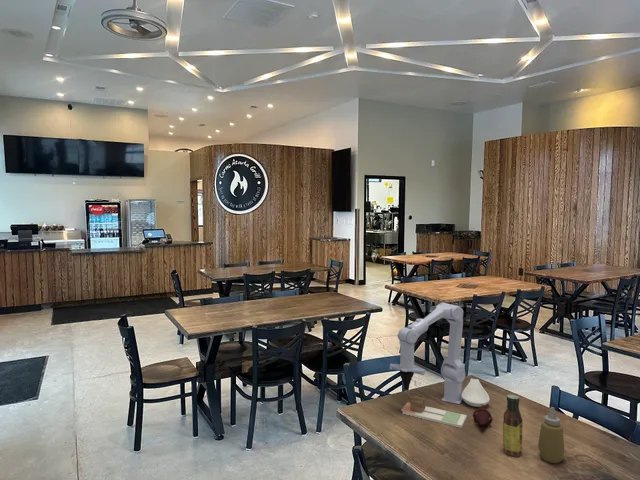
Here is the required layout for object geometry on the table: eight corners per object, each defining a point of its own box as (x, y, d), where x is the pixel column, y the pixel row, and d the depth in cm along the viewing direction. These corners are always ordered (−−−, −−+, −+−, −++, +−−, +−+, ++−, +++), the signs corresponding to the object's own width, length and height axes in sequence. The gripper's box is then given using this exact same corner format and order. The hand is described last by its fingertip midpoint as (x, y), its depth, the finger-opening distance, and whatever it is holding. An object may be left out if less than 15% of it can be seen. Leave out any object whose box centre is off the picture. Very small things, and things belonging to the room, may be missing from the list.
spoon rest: (490, 412, 183) (490, 395, 183) (461, 408, 186) (461, 392, 186) (486, 390, 206) (486, 375, 205) (460, 387, 209) (460, 373, 209)
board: (407, 404, 190) (407, 401, 190) (466, 417, 177) (466, 414, 177) (400, 413, 181) (400, 410, 181) (461, 428, 169) (461, 425, 169)
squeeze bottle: (540, 449, 153) (542, 400, 152) (566, 458, 148) (568, 406, 147) (535, 459, 147) (536, 408, 146) (561, 468, 142) (563, 415, 141)
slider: (413, 405, 186) (414, 396, 185) (425, 407, 183) (425, 398, 183) (410, 409, 181) (410, 400, 181) (421, 412, 179) (422, 403, 179)
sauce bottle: (524, 458, 148) (525, 401, 147) (504, 456, 149) (506, 400, 148) (519, 448, 154) (520, 393, 153) (500, 446, 155) (502, 392, 154)
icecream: (495, 419, 162) (494, 406, 177) (475, 411, 165) (475, 399, 179) (490, 436, 163) (489, 422, 177) (470, 428, 165) (470, 415, 179)
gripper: (387, 356, 180) (387, 388, 181) (421, 362, 173) (420, 395, 174) (393, 352, 187) (392, 382, 187) (426, 357, 180) (425, 389, 180)
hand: (406, 388), depth 181 cm, fingers closed
